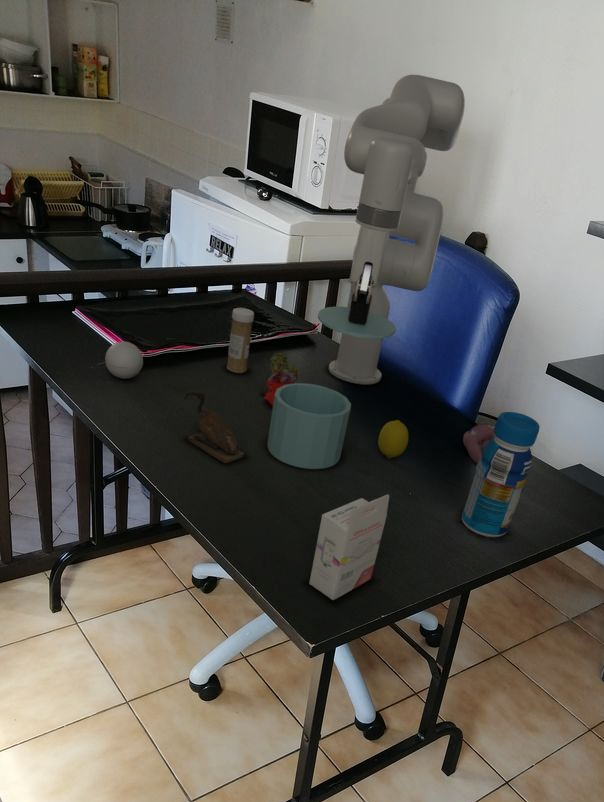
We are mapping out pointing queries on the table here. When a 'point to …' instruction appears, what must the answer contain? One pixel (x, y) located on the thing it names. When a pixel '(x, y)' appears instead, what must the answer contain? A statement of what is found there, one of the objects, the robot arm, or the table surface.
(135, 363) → the white sphere
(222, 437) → the figurine
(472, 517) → the beverage bottle
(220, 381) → the table surface
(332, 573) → the ink cartridge box
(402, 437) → the lemon
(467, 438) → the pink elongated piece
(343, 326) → the lid
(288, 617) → the table surface
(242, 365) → the sprinkles bottle
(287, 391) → the pot
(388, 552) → the table surface
